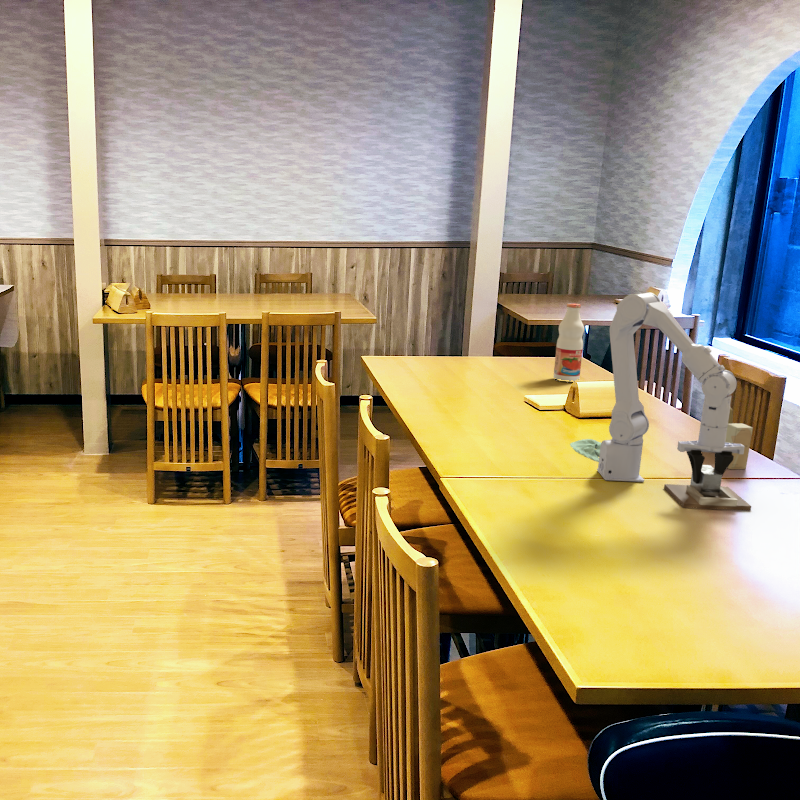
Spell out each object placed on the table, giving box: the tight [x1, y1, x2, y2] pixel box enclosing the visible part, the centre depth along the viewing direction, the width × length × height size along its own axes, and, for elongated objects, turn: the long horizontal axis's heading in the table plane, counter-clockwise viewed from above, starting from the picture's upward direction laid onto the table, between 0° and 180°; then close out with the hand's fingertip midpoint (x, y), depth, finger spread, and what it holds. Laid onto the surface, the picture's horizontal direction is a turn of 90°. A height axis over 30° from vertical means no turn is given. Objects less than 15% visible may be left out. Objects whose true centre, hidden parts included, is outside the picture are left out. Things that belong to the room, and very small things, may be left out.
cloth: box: [569, 438, 602, 463], centre depth 231 cm, size 20×22×2 cm
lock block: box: [689, 464, 723, 496], centre depth 199 cm, size 4×7×5 cm, turn 2°
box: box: [725, 422, 754, 470], centre depth 223 cm, size 5×4×11 cm
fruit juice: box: [553, 302, 585, 381], centre depth 318 cm, size 9×9×28 cm
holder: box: [663, 483, 752, 511], centre depth 198 cm, size 15×14×2 cm
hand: (705, 482), depth 199 cm, fingers closed on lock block, 4 cm apart
